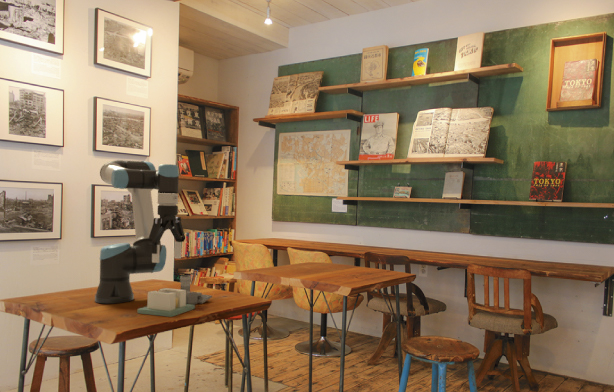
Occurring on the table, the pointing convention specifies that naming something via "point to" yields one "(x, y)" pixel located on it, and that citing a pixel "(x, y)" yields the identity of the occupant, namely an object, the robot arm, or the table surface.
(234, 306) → the table surface
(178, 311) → the board
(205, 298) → the camera
